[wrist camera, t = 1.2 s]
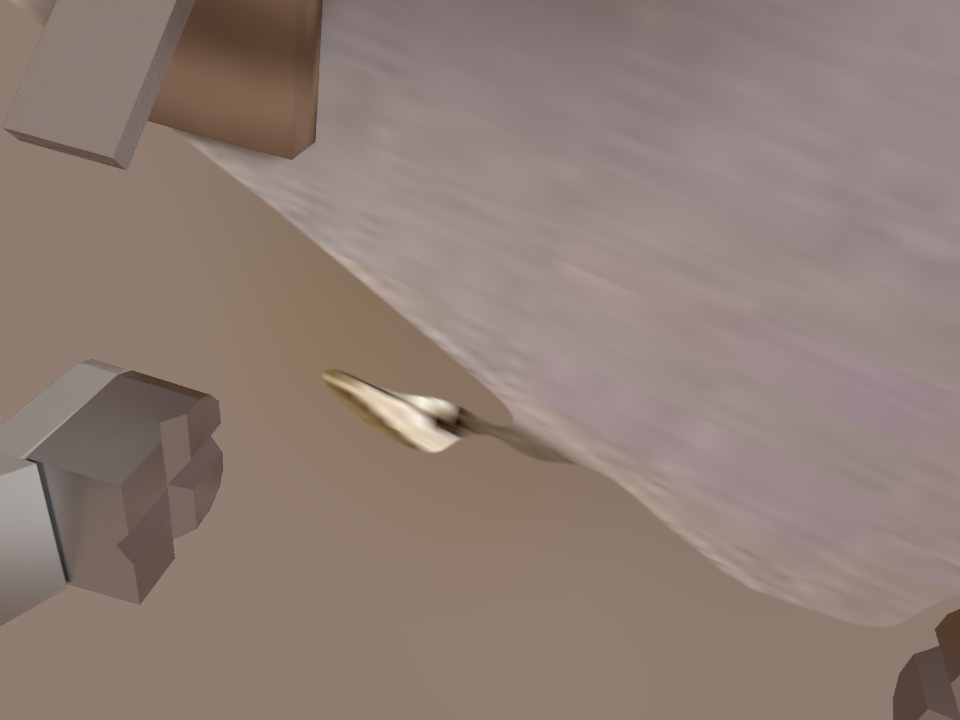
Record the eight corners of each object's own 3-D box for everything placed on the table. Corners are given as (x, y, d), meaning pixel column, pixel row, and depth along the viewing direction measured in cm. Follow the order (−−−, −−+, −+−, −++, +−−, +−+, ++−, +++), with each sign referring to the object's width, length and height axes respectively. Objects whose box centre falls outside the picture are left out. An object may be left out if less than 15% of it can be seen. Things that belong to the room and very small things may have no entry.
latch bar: (122, -99, 35) (108, -120, 33) (224, -74, 34) (214, -94, 33) (20, 140, 33) (1, 127, 32) (127, 170, 32) (112, 157, 31)
